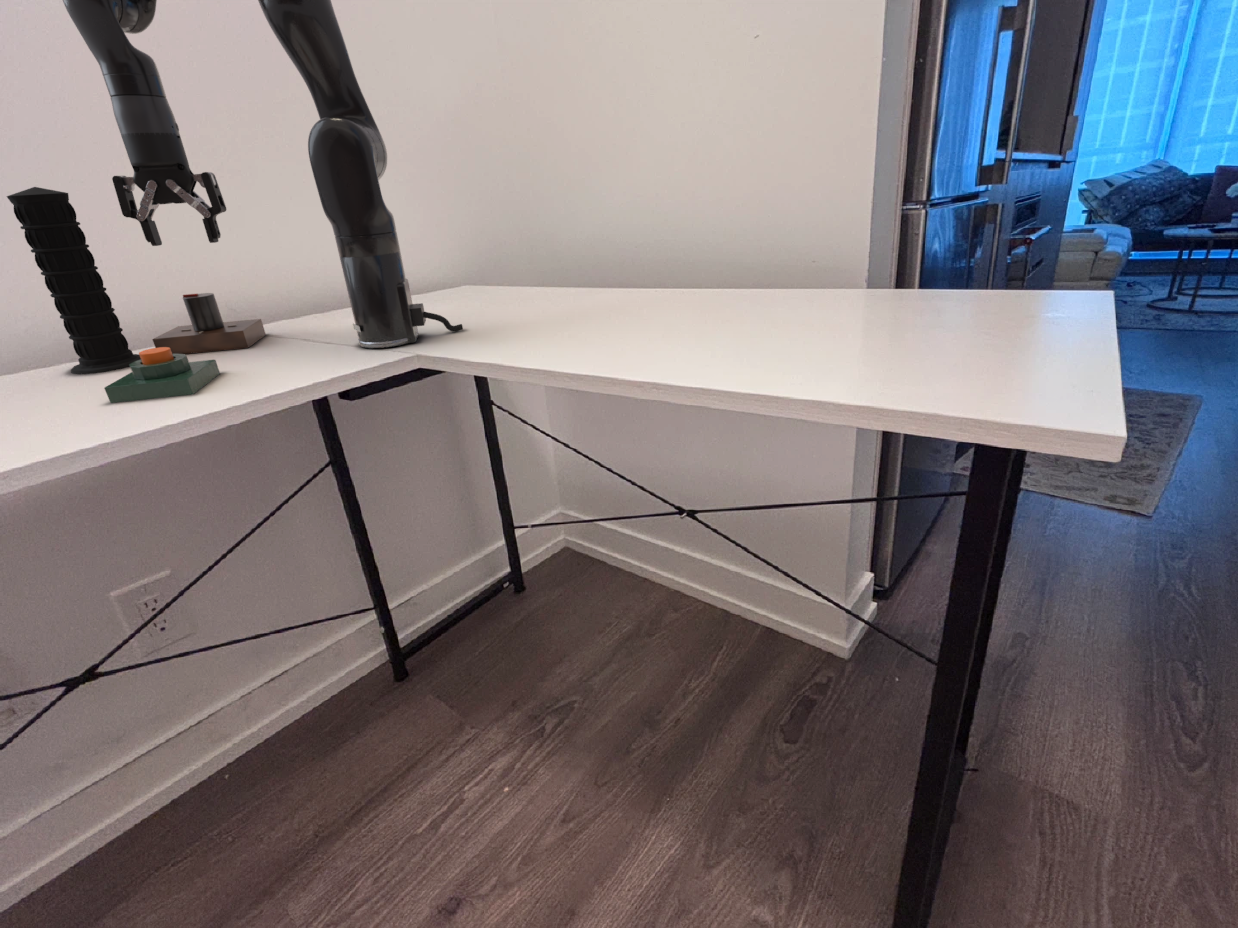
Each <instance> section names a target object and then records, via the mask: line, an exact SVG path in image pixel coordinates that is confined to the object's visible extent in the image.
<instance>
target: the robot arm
mask: <svg viewBox="0 0 1238 928" xmlns="http://www.w3.org/2000/svg"><path fill="white" fill-rule="evenodd" d="M257 1H258V4H259V6H260V9H261V11H262V14H263V15H264V18H265V20H266V22H267V24H268V26H269V27H270V29H271V31H272V32H273V34H274V36H275V38H276V39H277V41H278V43H279V44H280V46H281V47H282V48H283V50H284V52H285V53H286V55H287V56H288V58H289V59H290V61H291V62H292V64H293V65H294V67H295V68H296V70H297V71H298V73H299V75H300V76H301V78H302V80H303V82H304V83H305V85H306V87H307V88H308V91H309V93H310V95H311V98H312V100H313V103H314V106H315V108H316V112H317V115H318V117H319V120H317V121H316V122H315V123H314V124H313V126H311V127H312V128H311V129H310V131H309V135H308V138H307V140H308V141H307V151H308V152H307V153H308V158H309V163H310V166H311V172H312V175H313V179H314V182H315V186H316V190H317V193H318V196H319V200H320V203H321V207H322V210H323V213H324V215H325V217H326V218H327V220H328V222H329V223H330V225H331V228H332V231H333V236H334V240H335V244H336V248H337V252H338V256H339V261H340V265H341V269H342V273H343V278H344V282H345V285H346V291H347V295H348V299H349V305H350V308H351V311H352V317H353V320H354V323H352V327H353V330H355V331H356V334H357V337H358V344H359V346H360V347H362V348H366V349H385V348H391V347H398V346H403V345H407V344H413V343H416V342H417V340H418V337H419V330H418V329H419V328H418V327H423V326H425V325H426V321H427V319H428V320H434V321H437V322H440V323H442V324H443V325H444V327H445V328H446V329H447V330H448V331H449V332H452V333H453V332H460V331H463V330H464V329H463V328H464V326H463V324H462V323H459V324H456V325H452V324H451V323H450V321H449V320H448V319H447V318H446V317H444V316H442V315H440V314H437V313H432V312H428V311H425V307H424V303H423V302H422V303H413V299H412V294H411V288H410V283H409V279H408V278H406V274H405V273H406V272H405V269H404V264H403V263H404V261H403V258H402V253H401V248H400V243H399V237H398V232H397V226H396V222H395V221H396V220H395V218H394V215H393V213H392V212H391V211H390V209H389V208H388V207H387V205H386V203H385V201H384V197H383V195H382V190H381V184H380V183H379V181H380V180H381V179H382V177H384V175H385V173H386V170H387V166H388V153H387V152H388V151H387V147H386V144H385V141H384V138H383V136H382V134H381V132H380V129H379V127H378V125H377V123H376V120H375V118H374V116H373V114H372V112H371V109H370V107H369V105H368V103H367V101H366V98H365V97H364V94H363V92H362V89H361V87H360V84H359V82H358V79H357V76H356V74H355V70H354V67H353V65H352V61H351V58H350V55H349V52H348V49H347V46H346V42H345V39H344V36H343V33H342V30H341V27H340V25H339V21H338V19H337V16H336V12H335V10H334V6H333V3H332V0H257ZM157 2H158V1H157V0H62V3H63V5H64V8H65V9H66V11H67V14H68V15H69V17H70V19H71V21H72V22H73V24H74V26H75V28H76V29H77V31H78V32H79V34H80V36H81V38H82V39H83V41H84V42H85V44H86V46H87V47H88V49H89V52H90V53H91V54H92V55H93V57H94V59H95V60H96V62H97V63H98V65H99V68H100V71H101V74H102V78H103V80H104V82H105V83H104V84H105V86H106V89H107V92H108V95H109V97H110V101H111V105H112V111H113V115H114V119H115V122H116V125H117V127H118V130H119V131H118V132H119V134H120V136H121V139H122V142H123V145H124V148H125V151H126V154H127V157H128V159H129V163H130V166H131V167H132V170H133V176H126V175H114V176H112V177H111V180H112V183H113V187H114V190H115V193H116V197H117V200H118V204H119V207H120V210H121V214H122V216H123V217H125V218H130V219H133V220H135V221H138V222H139V224H140V227H141V230H142V232H143V236H144V238H145V240H146V241H147V243H150V245H151V246H152V247H159V246H162V245H163V241H162V239H161V236H160V233H159V230H158V227H157V224H156V221H155V220H152V219H153V217H154V215H155V213H156V210H157V209H158V208H159V206H160V205H170V204H188V205H189V206H190V207H191V208H194V209H195V210H196V211H197V212H198V213H199V214H200V215H201V216H202V217H203V218H202V223H203V226H204V229H205V233H206V236H207V240H208V242H209V243H210V244H214V243H215V244H216V243H219V239H221V235H222V234H221V231H220V228H219V224H218V221H217V216H218V215H220V214H223V213H225V212H227V205H226V203H225V201H224V197H223V194H222V192H221V189H220V186H219V184H218V181H217V177H216V175H215V173H213V172H210V171H203V172H202V173H194V172H193V171H192V170H191V168H190V164H189V160H188V157H187V154H186V151H185V147H184V143H183V141H182V138H181V135H180V128H179V125H178V123H177V121H176V118H175V115H174V113H173V110H172V108H171V106H170V103H169V101H168V98H167V95H166V92H165V88H164V85H163V81H162V79H161V75H160V72H159V69H158V67H157V64H156V62H155V60H154V58H152V57H151V56H150V55H149V54H147V53H146V52H144V51H142V50H140V49H138V48H136V47H135V46H134V45H133V44H132V43H131V42H130V40H129V38H128V37H127V35H126V34H129V35H130V34H131V35H136V34H141V33H143V32H144V31H146V30H147V29H148V28H149V27H150V26H151V24H152V23H153V20H154V19H155V16H156V10H157ZM197 183H198V184H199V185H200V186H201V187H202V188H204V189H205V192H206V194H207V197H208V200H209V202H210V205H211V206H210V205H209V204H208V203H207V202H206V201H205V200H204V198H203V197H201V195H199V194H198V193H197V192H196V191H195V188H196V185H197ZM135 186H137V187H138V188H139V189H140V190H141V191H142V192H143V195H142V197H141V200H140V202H139V208H138V206H137V203H136V199H135V197H134V193H133V191H135Z"/></svg>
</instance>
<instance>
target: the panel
mask: <svg viewBox="0 0 1238 928" xmlns="http://www.w3.org/2000/svg"><path fill="white" fill-rule="evenodd" d="M223 323H224V327H222V328H218V329H214V330H208V331H194V329H193V326H192V324H189V325H178V326H176V327H173V328H172V329H169V330H168V331H166V332H164V333H162V334H160V335H158V336H156V337H154V338H152V343H153V345H154V348H159V347H169V348H170V349H171V352H172V354H185V355H192V354H201V353H212V352H221V351H233V350H243V349H249V348H251V347H252V346H253V345H254V344H256V343H257V342H259V341H260V340H261V339H262V338H264V337H265V336H266V335H267V334H266V331H265V327H264V324H263V320H262V318H256V319H255V318H254V319H243V320H233V321H223Z"/></svg>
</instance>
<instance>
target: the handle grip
mask: <svg viewBox="0 0 1238 928" xmlns="http://www.w3.org/2000/svg"><path fill="white" fill-rule="evenodd" d="M6 198H7V199H8V201H9V202H10V203H11V204H12V205H13V213H14V216H15V218H16V219H17V221H18V222H19V223H20V224H21V226H20V229H21V230H24V238H25V241H26V243H27V245H28V246H29V247H30V248H31V249H30V252H31V253H33V254H34V261H35V263H36V265H37V267H38V268H39V270H40V271H41V272H40V275H42V276H44V284H45V287H46V289H47V290H48V291H49V292H50V293H51V294H50V295H49V296H50V297H51V298H53V301H54V302H53V303H54V306H55V309H56V311H57V312H58V313H59V314H60V315H59V319H61V320H63V327H64V329H65V331H66V333H67V334H68V335H69V336H68V339H69V340H72V346H73V349H74V353H75V354H76V355H77V356H78V357H79V358H78V364H75V365H74V366H73V367H72V368H70V374H72V375H80V376H81V375H96V374H101V373H109V372H115V371H119V370H124V369H128V368H130V366H129V364H131V363H133V362H135V361H137V360H141V358H140V355H139V353H133V350H132V349H130V348H129V343H128V340H127V338H126V336H125V335H124V334H123V333H122V332H123V330H124V329H123V328H122V327H121V322H120V319H119V317H118V316H117V315H116V313H115V310H116V309H115V308H114V307H113V305H112V300H111V297H110V295H108V294H107V292H106V291H107V288H106V287H104V279H103V278H102V276H101V274H100V272H98V271H97V270H98V269H99V267H98V266H97V265H96V263H95V262H96V261H95V257H94V256H93V253H92V252H91V250H90V249H88V248H89V247H90V245H89V244H87V239H86V238H87V237H86V235H85V232H84V231H83V230H82V228H81V227H80V226H81V223H80V221H78V220H77V212H76V210H75V207H73V205H72V204H71V203H70V197H69V192H64V191H58V190H53V189H48V188H44V187H39V186H38V187H37V186H33V187H30V188H27V189H24V190H21V191H18V192H15V193H12V194H9V195H7V196H6Z"/></svg>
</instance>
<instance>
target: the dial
mask: <svg viewBox="0 0 1238 928" xmlns="http://www.w3.org/2000/svg"><path fill="white" fill-rule="evenodd" d="M182 300H183V303H184V305H185V309H186V312H187V315H188V317H189V320H190V324H191V325H192V326H193V329H194V331H208V330H214V329H218V328H222V327H224V323H223V322H224V321H223V318H222V315H221V311H220V308H219V306H218V302H217V299H216V296H215V294H214V292H201V293H185V294H183V295H182Z"/></svg>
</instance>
